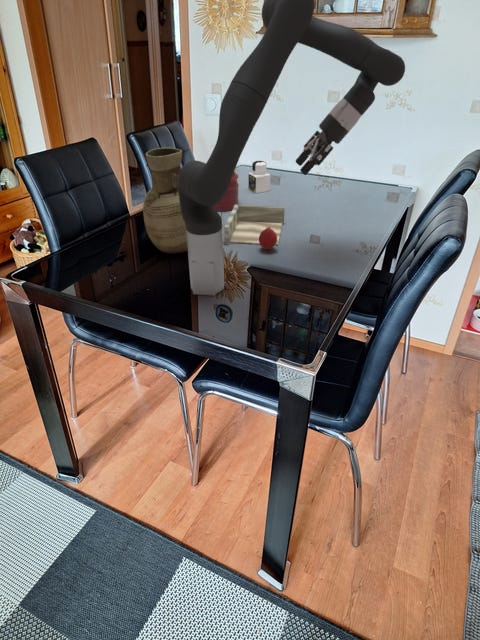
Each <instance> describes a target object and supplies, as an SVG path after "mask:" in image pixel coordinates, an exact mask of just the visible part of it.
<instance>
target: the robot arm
mask: <svg viewBox="0 0 480 640" xmlns="http://www.w3.org/2000/svg"><path fill="white" fill-rule="evenodd" d="M314 12H315V0H264V2H263V5H262V7H261V18H262V19H261V20H262V24H263V25H264V27H265V32H264V34H263V36H262V37H261V39H260V41H259V43H258V44H257V46H256V47H254V49H253V51H252V52H251V53H250V54H249V56H248V57H247V58H246V59H245V60H244V62H243V63H242V64H241V65H240V67H239V68H238V70H237V72H236V73H235V75H234V77H233V78H232V80H231V81H230V84H229V85H228V88H227V90H226V92H225V94H224V96H223V98H222V101H221V104H220V108H219V116H218V117H219V119H218V132H217V133H218V135H217V140H216V143H215V144H214V148H213V150H212V151H211V154H210V156H209V158H208V160H207V161H206V162H203V161H200V160H189V161H187V162H186V163H185V164H183V166H182V167H180V168H181V170H180V173H179V176H178V193H179V201H180V208H181V214H182V218H183V220H184V222H185V225H186V235H187V248H188V251H187V257H188V258H187V259H188V270H189V280H190V282H189V283H190V289H191V291H192V294H193V295H203V296H211V297H212V296H214V297H215V296H216V295H217V294H218V293H220V292H222V291H223V290H224V288H225V272H224V244H223V243H224V242H223V240H224V239H223V219H222V216H221V215H220V213H219V211H216V209H215V207H214V205H216V204H217V203H219V202H220V201H221V199H222V198H223V196H224V195H225V193H226V191H227V189H228V186H229V184H230V181H231V179H232V176H233V173H234V171H235V169H237V164H238V162H239V161H240V157H241V155H242V153H243V150H244V149H245V147H246V145H247V142H248V140H249V138H250V136H251V135H252V132H253V130H254V128H255V126H256V124H257V123H258V120H259V119H260V117H261V115H262V113H263V111H264V109H265V107H266V105H267V103H268V101H269V98H270V96H271V94H272V92H273V90H274V88H275V86H276V84H277V82H278V80H279V78H280V75H281V74H282V71H283V70H284V68H285V66H286V63H287V61H288V59H289V58H290V56H291V54H292V52H293V50H294V49H295V48H296V46H297V45H298V44H302V45H303V46H307V47H310V48H312V49H315V50H317V51H319V52H321V53H323V54H326V55H328V56H330V57H331V58H334V59H335V60H337V61H339V62H341V63H343V64H344V65H346V66H349V67H350V68H352V69H355V70H357V71H359V72H360V73H359V74H358V76H357V78H356V80H355V82H354V84H353V85H352V86H351V88H350V89H349V90H348V91H347V93H345V94H344V96H343V98H341V100H340V101H339V102H337V103H336V104H335V105H334V107H332V109H331V110H330V111H329V112H328V114H327V115H326V116H325V118H324V119H323V120H322V121H321V122H320V123H319V125H318V127H319V129H320V130H321V132H320V131H319V130H316V131H315V132H314V134H312V135H311V137H310V138H309V139H308V141H307V142H305V144H304V145H303V150H302V152H301V153H300V154H299V156H298V157H297V158H296V159H295V163H296V164H297V165H298V166H299V167H301V166H302V165H303V166H302V167H301V168H299V169H300V172H301V173H302V175H304V176H306V175H308V174H309V173H310V172H311V171H312V169H313V168H314V166H318V167H319V166H321V164H322V163H323V162H324V160H325V159H326V158H327V157H328V156H329V155H330V154H331V152H332V151H333V149H334V147H333V146H332V143H333V142H334V143H335V144H336V145H338V144H340V143H341V142H342V141H343V140H344V139H345V137H346V136H347V134H349V132H351V130H352V129H353V128H354V127H355V126H356V125H357V123H358V122H359V120H360V118H362V116H363V115H364V114H365V113H366V112H367V111H368V109H369V108H370V107H371V105H373V103H374V101H375V100H376V95H375V92H374V91H375V89H376V87H377V86H378V84H381V85H382V86H386V87H392V86H394V85H396V84H398V83H400V81H401V80H402V79H403V77H404V76H405V72H406V64H405V61H404V59H403V58H402V57H401V56H400V55H398V54H396V53H395V52H393V51H391V50H390V49H386V48H384V47H382V46H380V45H378V44H377V42H374V40H372V39H371V38H369V37H367V36H366V35H364V34H362V33H361V32H359V30H358V31H357V30H356V29H354V28H351V27H349V26H345V25H342V24H338V23H334V22H331V21H327V20H323V19H321V18H318V17H316V16H314ZM308 158H309V159H308ZM306 160H307V161H306Z"/></svg>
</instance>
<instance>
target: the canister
mask: <svg viewBox="0 0 480 640" xmlns="http://www.w3.org/2000/svg"><path fill="white" fill-rule="evenodd" d="M236 172H237V168H235V171H234V173H233V176H232V179H231V181H230V184H229V186H228V189H227V191H226V193H225V195H224V196H223V198H222V199H221V201H220V202H219V203H217V204H216V205H214V207H215V209H216V211H217V212H229V211H232V210H233V208H234V206H235V205H240V204H239V203H240V202H239V201H240V199H239V182H238V178H239V174H238V173H236Z"/></svg>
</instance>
